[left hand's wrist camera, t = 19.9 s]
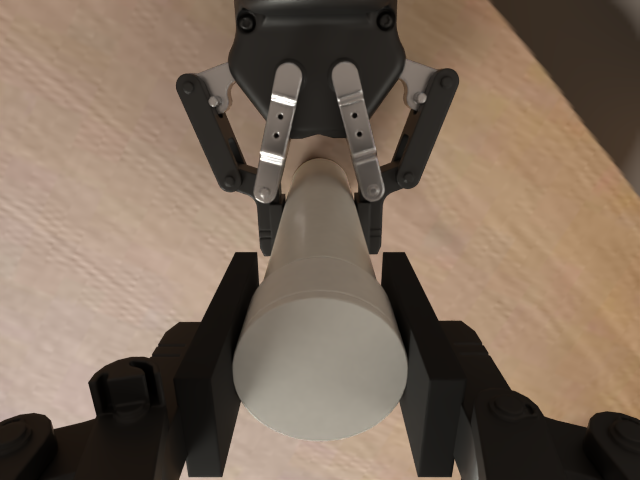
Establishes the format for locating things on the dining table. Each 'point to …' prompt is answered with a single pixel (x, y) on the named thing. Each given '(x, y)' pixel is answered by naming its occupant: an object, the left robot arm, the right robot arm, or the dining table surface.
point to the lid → (320, 352)
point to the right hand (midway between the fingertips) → (320, 258)
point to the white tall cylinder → (320, 219)
